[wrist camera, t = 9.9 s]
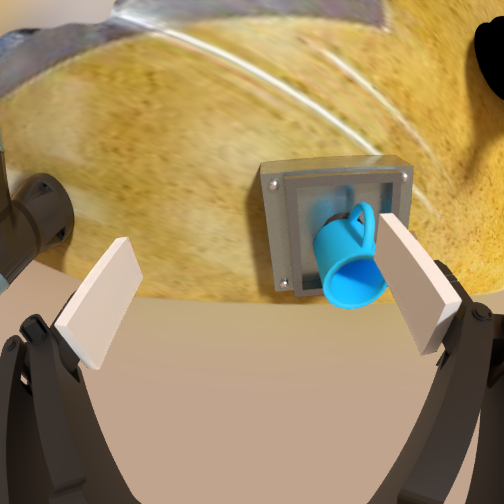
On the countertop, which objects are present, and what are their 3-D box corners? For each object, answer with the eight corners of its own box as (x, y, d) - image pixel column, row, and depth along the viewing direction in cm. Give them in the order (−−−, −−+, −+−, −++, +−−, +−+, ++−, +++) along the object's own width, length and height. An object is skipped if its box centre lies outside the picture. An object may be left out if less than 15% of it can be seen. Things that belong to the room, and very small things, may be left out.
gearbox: (274, 268, 46) (275, 300, 39) (261, 162, 37) (259, 179, 30) (401, 255, 43) (419, 283, 37) (411, 155, 34) (439, 170, 27)
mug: (360, 272, 38) (375, 310, 31) (308, 266, 38) (315, 306, 31) (385, 197, 32) (412, 226, 25) (326, 186, 32) (342, 213, 25)
